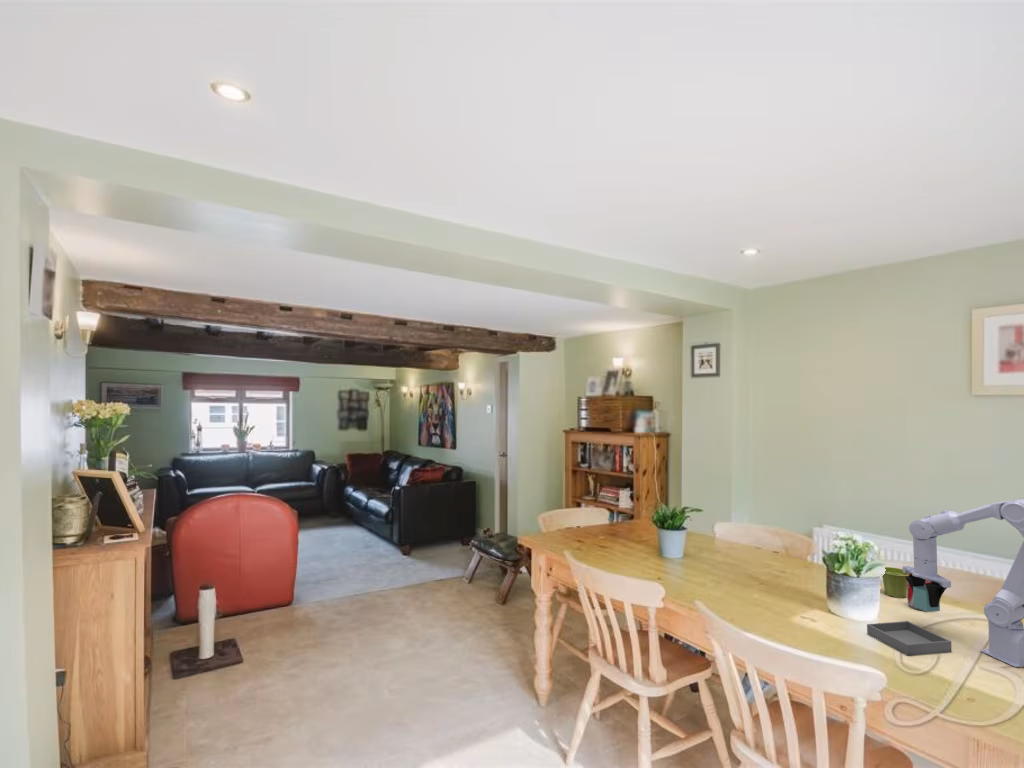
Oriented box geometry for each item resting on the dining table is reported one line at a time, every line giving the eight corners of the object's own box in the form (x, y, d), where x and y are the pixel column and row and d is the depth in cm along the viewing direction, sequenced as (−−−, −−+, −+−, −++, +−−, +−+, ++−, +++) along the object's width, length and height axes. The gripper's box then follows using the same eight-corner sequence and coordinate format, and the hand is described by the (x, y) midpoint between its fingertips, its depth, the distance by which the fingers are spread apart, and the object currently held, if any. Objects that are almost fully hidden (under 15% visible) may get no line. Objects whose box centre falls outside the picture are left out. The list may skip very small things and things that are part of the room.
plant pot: (917, 600, 189) (916, 575, 190) (887, 598, 191) (886, 574, 192) (903, 591, 199) (903, 567, 199) (875, 589, 201) (874, 566, 201)
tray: (951, 652, 151) (951, 641, 151) (907, 655, 149) (907, 644, 149) (907, 630, 165) (907, 621, 165) (867, 634, 163) (867, 624, 163)
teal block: (939, 610, 163) (939, 590, 163) (926, 611, 162) (926, 591, 162) (926, 605, 167) (925, 585, 168) (913, 606, 167) (913, 586, 167)
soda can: (908, 602, 188) (907, 567, 188) (934, 607, 183) (933, 571, 184) (907, 608, 182) (906, 573, 183) (933, 613, 178) (932, 577, 178)
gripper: (893, 552, 172) (894, 595, 171) (935, 566, 158) (937, 613, 157) (913, 551, 173) (914, 594, 173) (956, 565, 159) (958, 612, 158)
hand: (926, 603), depth 165 cm, fingers closed on teal block, 4 cm apart
